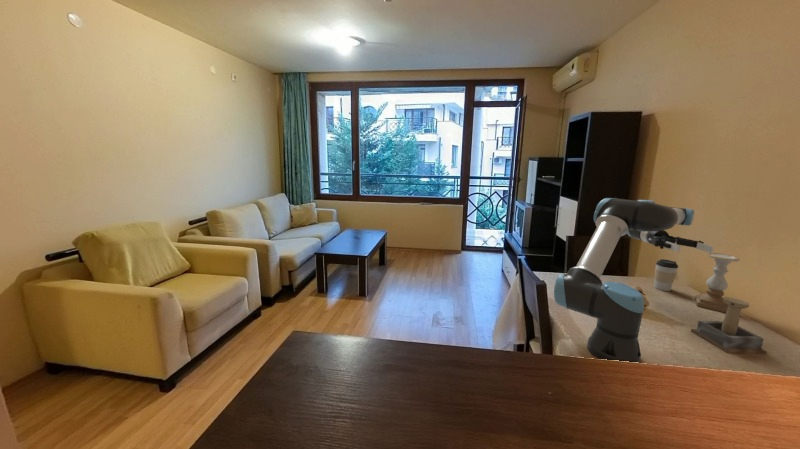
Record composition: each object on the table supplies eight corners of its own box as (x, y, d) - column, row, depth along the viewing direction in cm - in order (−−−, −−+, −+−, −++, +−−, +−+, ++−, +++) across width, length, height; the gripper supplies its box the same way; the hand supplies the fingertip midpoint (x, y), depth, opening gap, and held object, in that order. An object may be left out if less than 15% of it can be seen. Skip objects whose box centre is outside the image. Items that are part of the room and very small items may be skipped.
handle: (735, 345, 117) (745, 305, 114) (712, 336, 122) (721, 298, 119) (741, 342, 119) (751, 303, 116) (718, 333, 124) (727, 296, 121)
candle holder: (695, 298, 159) (706, 251, 154) (726, 305, 152) (739, 256, 147) (696, 306, 151) (708, 255, 146) (729, 313, 144) (743, 261, 139)
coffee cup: (653, 289, 169) (658, 261, 166) (649, 283, 177) (655, 256, 174) (675, 293, 165) (681, 264, 162) (670, 287, 173) (676, 259, 170)
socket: (726, 352, 114) (729, 339, 113) (690, 331, 127) (693, 319, 126) (766, 353, 114) (769, 340, 113) (726, 332, 128) (729, 320, 127)
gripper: (679, 245, 154) (724, 259, 133) (626, 243, 153) (663, 257, 132) (683, 229, 152) (728, 241, 131) (629, 227, 152) (666, 239, 131)
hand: (695, 249), depth 132 cm, fingers open, 13 cm apart
